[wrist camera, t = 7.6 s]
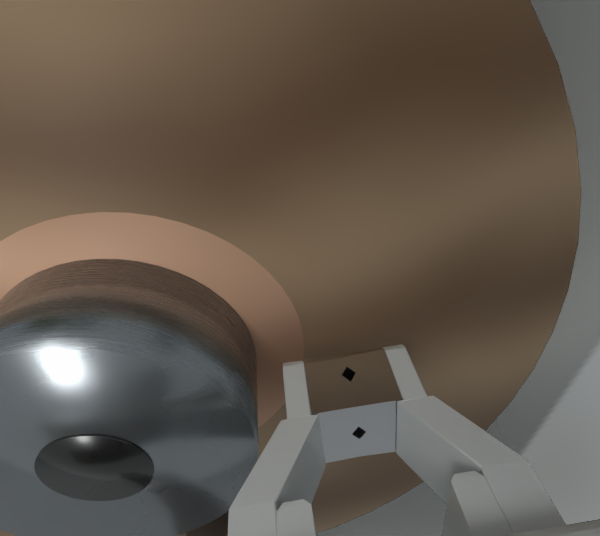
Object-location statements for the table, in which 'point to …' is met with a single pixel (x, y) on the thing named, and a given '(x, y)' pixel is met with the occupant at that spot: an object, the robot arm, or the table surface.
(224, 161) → the turntable
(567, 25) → the table surface
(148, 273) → the pot lid
